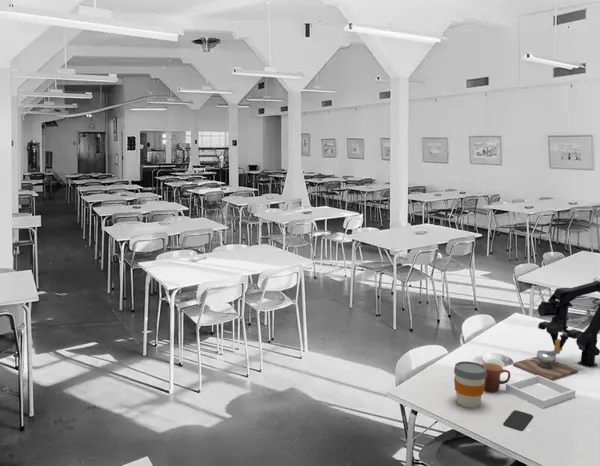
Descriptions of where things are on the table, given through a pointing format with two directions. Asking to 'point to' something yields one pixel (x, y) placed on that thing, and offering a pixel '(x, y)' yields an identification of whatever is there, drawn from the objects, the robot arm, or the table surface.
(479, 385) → the reusable coffee cup
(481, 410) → the table surface
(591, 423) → the table surface
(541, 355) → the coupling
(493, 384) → the mug
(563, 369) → the base plate
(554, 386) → the tray frame
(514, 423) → the phone
